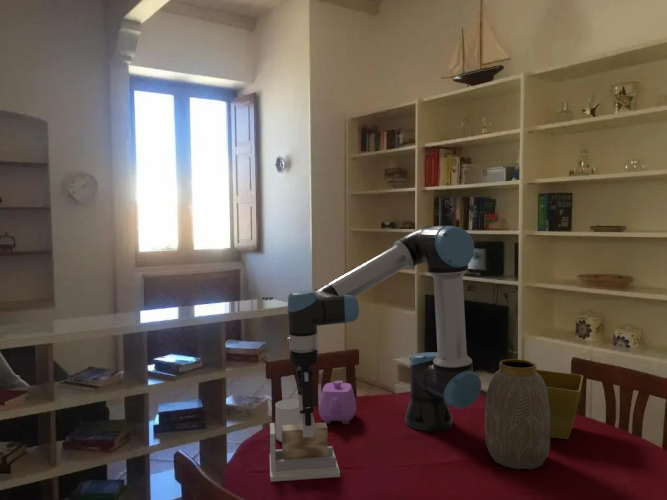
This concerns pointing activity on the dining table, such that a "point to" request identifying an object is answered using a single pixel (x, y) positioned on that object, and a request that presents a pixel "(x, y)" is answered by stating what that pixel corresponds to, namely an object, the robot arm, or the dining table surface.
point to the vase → (518, 416)
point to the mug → (286, 415)
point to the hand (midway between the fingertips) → (306, 426)
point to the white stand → (300, 464)
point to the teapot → (337, 402)
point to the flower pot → (562, 400)
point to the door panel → (304, 442)
